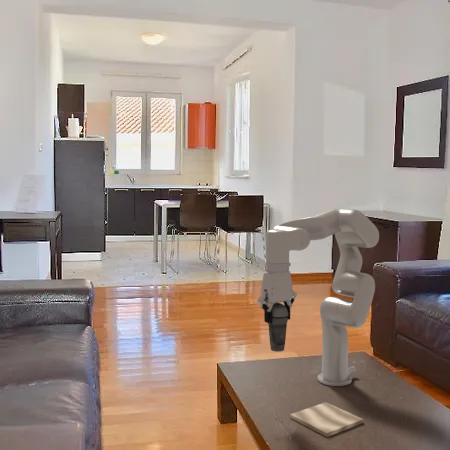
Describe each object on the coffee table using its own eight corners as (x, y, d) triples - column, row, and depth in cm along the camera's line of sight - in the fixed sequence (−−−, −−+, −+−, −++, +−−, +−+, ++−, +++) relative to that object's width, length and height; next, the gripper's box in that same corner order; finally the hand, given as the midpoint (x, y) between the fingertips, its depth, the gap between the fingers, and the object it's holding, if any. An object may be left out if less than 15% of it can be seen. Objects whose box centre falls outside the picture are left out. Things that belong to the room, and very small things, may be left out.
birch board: (325, 405, 189) (325, 402, 188) (363, 422, 176) (363, 419, 176) (290, 417, 179) (290, 414, 179) (326, 437, 166) (326, 433, 166)
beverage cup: (287, 353, 182) (287, 292, 180) (265, 352, 183) (265, 292, 181) (289, 346, 189) (289, 288, 187) (267, 345, 190) (268, 287, 188)
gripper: (289, 263, 191) (289, 314, 193) (249, 268, 181) (249, 322, 183) (305, 266, 185) (304, 318, 187) (264, 272, 175) (264, 327, 177)
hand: (277, 320), depth 185 cm, fingers closed on beverage cup, 7 cm apart
